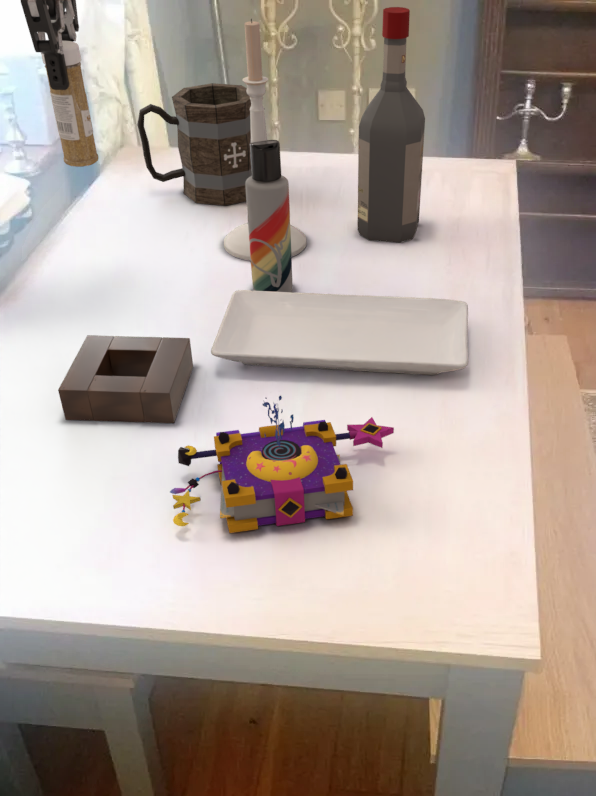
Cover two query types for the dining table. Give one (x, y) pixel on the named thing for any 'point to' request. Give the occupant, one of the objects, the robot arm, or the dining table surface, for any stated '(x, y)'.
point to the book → (279, 473)
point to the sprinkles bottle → (74, 112)
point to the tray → (344, 332)
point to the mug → (208, 142)
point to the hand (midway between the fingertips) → (65, 82)
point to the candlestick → (256, 140)
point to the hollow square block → (127, 379)
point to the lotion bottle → (269, 219)
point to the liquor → (391, 145)
